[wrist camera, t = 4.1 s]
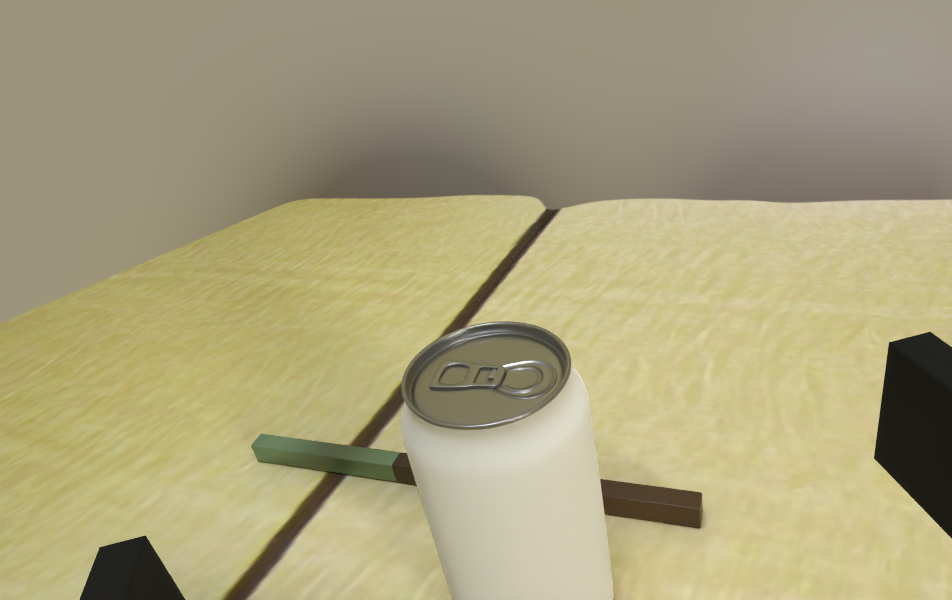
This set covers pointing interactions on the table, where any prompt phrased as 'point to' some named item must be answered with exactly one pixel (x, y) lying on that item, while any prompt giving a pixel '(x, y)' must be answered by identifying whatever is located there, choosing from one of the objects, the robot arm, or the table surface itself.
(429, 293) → the table surface
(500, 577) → the can
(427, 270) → the table surface
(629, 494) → the chopsticks
